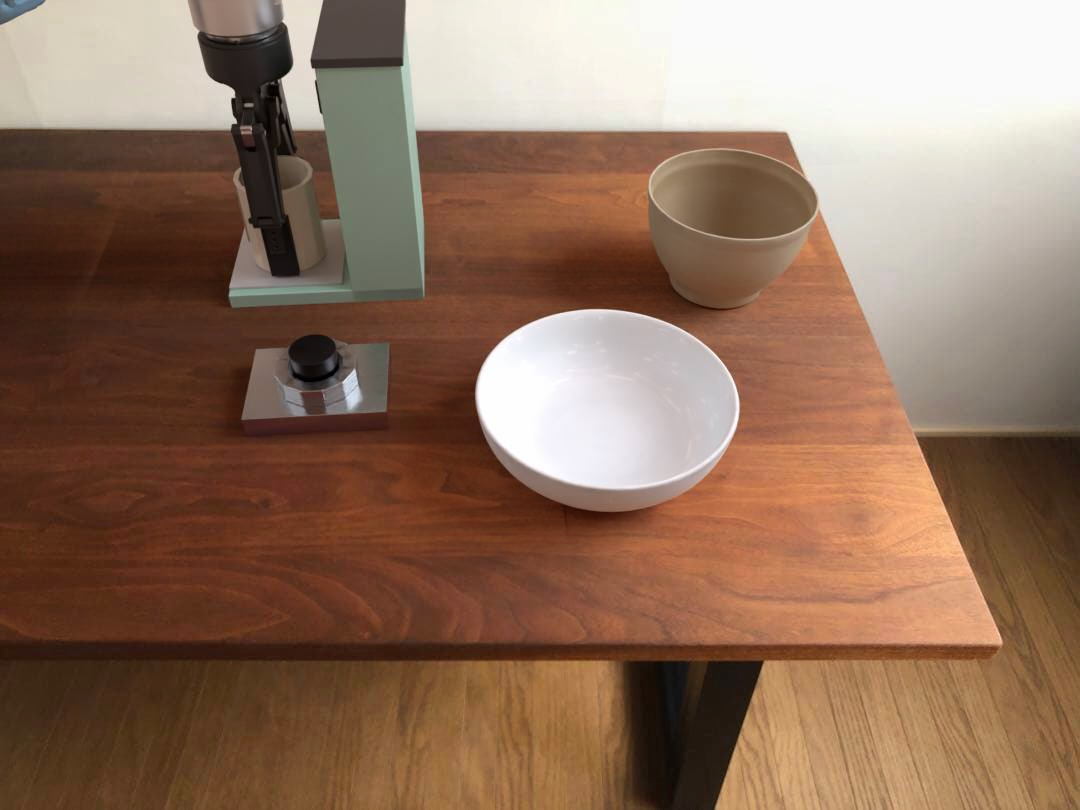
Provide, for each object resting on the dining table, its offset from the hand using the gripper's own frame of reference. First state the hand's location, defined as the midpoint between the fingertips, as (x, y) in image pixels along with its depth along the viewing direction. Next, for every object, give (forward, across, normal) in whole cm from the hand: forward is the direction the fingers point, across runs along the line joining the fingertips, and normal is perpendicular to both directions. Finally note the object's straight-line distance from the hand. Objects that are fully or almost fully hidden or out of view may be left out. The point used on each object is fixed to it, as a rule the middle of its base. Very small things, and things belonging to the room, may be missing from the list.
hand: (290, 249), depth 92 cm
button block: (+2, -20, -5) cm, 21 cm away
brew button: (-1, -20, -5) cm, 21 cm away
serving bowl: (+2, -28, -29) cm, 40 cm away
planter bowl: (+2, -6, -44) cm, 44 cm away
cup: (0, 0, 0) cm, 0 cm away
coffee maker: (+2, 0, -5) cm, 5 cm away
